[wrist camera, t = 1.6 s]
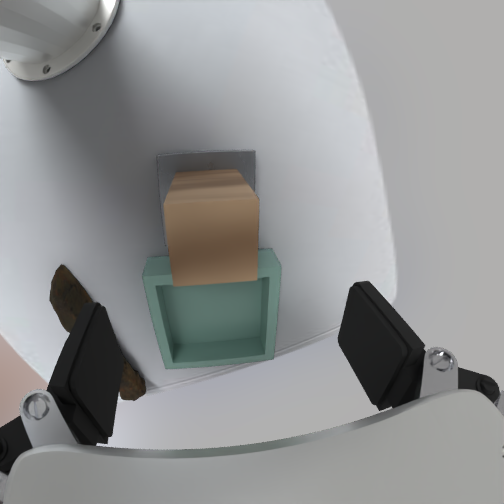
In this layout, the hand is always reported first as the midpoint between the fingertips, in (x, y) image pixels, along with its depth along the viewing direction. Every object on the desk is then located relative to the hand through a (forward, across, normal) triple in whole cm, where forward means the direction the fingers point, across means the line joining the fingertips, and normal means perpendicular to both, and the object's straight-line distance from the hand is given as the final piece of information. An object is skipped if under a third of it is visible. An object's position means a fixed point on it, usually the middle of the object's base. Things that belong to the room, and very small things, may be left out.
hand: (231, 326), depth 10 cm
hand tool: (+17, +15, +14) cm, 27 cm away
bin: (+16, 0, +11) cm, 20 cm away
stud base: (+16, 0, 0) cm, 16 cm away
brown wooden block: (+15, 0, 0) cm, 15 cm away
